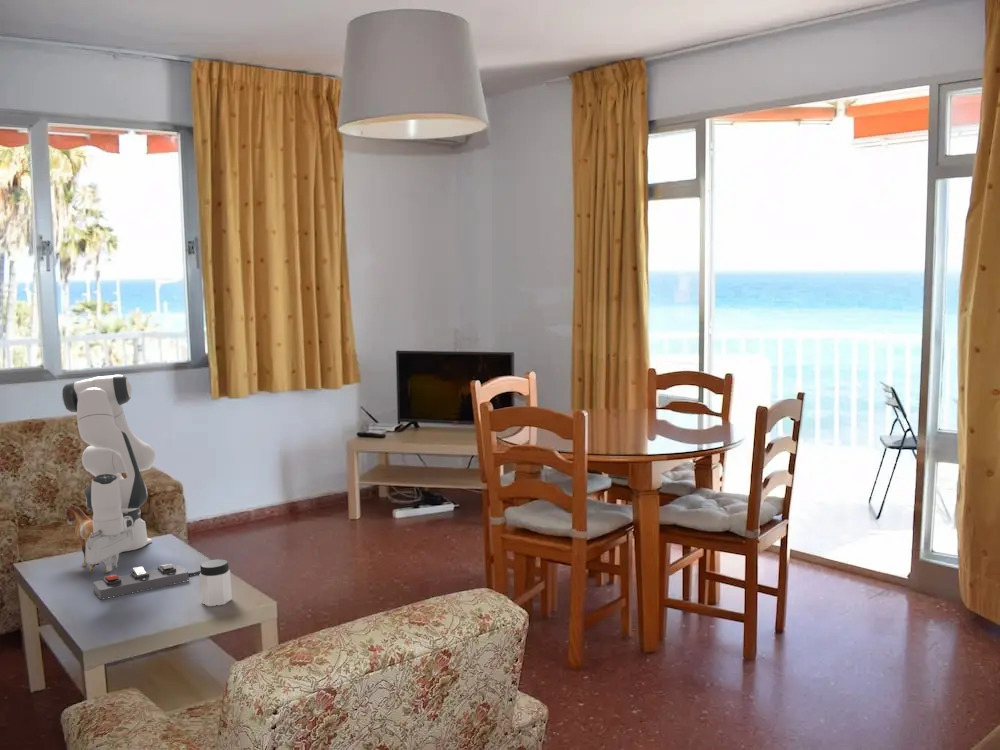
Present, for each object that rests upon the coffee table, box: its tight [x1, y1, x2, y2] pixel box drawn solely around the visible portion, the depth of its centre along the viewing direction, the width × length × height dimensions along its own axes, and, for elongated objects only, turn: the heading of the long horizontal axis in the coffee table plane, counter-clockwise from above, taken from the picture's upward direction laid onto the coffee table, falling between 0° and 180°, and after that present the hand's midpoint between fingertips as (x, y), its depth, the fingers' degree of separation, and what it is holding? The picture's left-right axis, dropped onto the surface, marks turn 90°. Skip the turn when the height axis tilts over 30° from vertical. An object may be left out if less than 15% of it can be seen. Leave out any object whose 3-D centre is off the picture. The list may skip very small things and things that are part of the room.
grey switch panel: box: [92, 564, 201, 600], centre depth 299 cm, size 10×34×4 cm, turn 125°
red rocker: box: [104, 574, 119, 581], centre depth 293 cm, size 5×3×2 cm, turn 35°
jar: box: [198, 558, 233, 607], centre depth 281 cm, size 9×8×12 cm
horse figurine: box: [63, 504, 111, 574], centre depth 316 cm, size 31×8×21 cm, turn 39°
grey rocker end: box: [159, 563, 174, 570], centre depth 303 cm, size 5×3×2 cm, turn 35°
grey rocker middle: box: [132, 566, 146, 576], centre depth 298 cm, size 5×3×2 cm, turn 35°
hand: (111, 569), depth 291 cm, fingers closed
